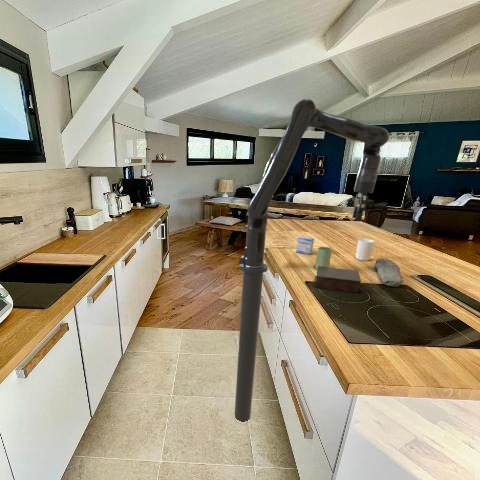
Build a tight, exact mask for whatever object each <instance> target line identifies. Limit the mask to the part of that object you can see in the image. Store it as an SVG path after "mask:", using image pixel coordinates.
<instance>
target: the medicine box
mask: <svg viewBox="0 0 480 480" xmlns="http://www.w3.org/2000/svg"><path fill="white" fill-rule="evenodd" d="M314 242H315V238H312V237H307V236H306V237H305V236H299V237H298V238H297V244H296V250H295V253H296V254H301V255H309V256H310V255H312V253H313V249H314Z"/></svg>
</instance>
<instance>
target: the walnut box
mask: <svg viewBox="0 0 480 480" xmlns="http://www.w3.org/2000/svg"><path fill="white" fill-rule="evenodd" d="M361 283H362V279H361V276H360V272H359V270H357V269H349V268H348V269H347V268H340V267H330V266H329V267H321V266H317V269H316V274H315V284H314V288H318V289H325V290H333V291H339V292H340V291H341V292H348V293H349V292H350V293H355V294H356V293H357V294H358V293H359V291H360V285H361Z"/></svg>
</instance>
